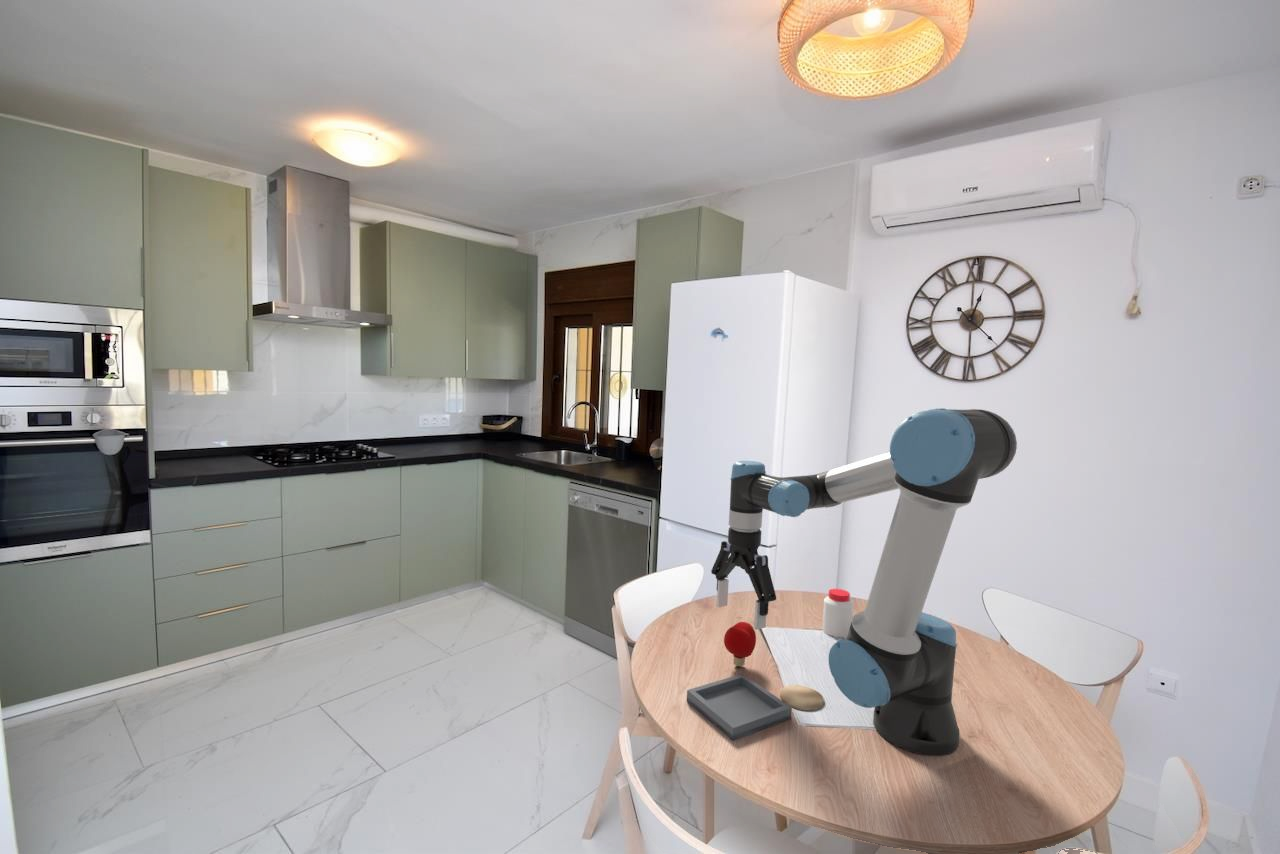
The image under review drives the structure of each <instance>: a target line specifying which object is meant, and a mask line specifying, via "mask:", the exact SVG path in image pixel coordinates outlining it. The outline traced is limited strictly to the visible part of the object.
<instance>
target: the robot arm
mask: <svg viewBox="0 0 1280 854" xmlns="http://www.w3.org/2000/svg"><path fill="white" fill-rule="evenodd" d="M1017 445H1018V441H1017V437H1016V433H1015V431H1014V429H1013V427H1012V426H1011V425H1010V423H1009V422H1008V421H1007V420H1005V419H1004V418H1003V417H1002V416H1000V415H998V414H997V413H996V412H992V411H989V410H985V409H976V408H975V409H974V408H973V409H951V408H950V409H948V408H945V407H943V408H942V407H941V408H934V409H933V408H932V409H928V410H921V411H919V412H916V413H913V414H911V415H910V416H908V417H906V418H905V419H904V420H903V421H901V423H900V424H899V425H898V426H897V428H896V429H895V430H894V433H893V435H892V437H891V440H890V443H889V451H887V452H883V453H880V454H877V455H874V456H871V457H867V458H864V459H861V460H859V461H855V462H851V463H849V464H845V465H842V466H840V467H836V468H833V469H830V470H826V471H822V472H820V473H816V474H808V475H798V476H786V477H785V476H784V477H782V476H781V477H779V476H774V475H770V474H767V472H766V466H765V464H764V463H762V462H760V461H754V460H737V461H735V462H734V463H733V465H732V467H731V468H732V469H731V474H730V497H729V513H728V514H729V516H728V526H729V527H728V533H727V535H728V536H727V540H725V541H724V540H722V541H721V542H720V543H721V544H720V550H719V552H718V555H717V557H716V558H715V561H714V564H713V566H712V568H711V575H714V576H715V578H716V593H717V595H716V607H717V608H722V607H727V606H728V601H729V600H728V598H729V596H728V595H729V593H728V592H729V579H728V578H729V575H730V573H731V572H732V571H733V570H734V569H735V567H739V568H741V569H742V570H744V572H745V574H747V575H748V577H749V579H750V582H751V584H752V587H753V589H754V592H755V594H756V597H757V599H756V600H755V604H754V605H755V609H754V624H753V625H754V626H753V629H754V630H760V629H764V628H766V625H767V616H768V614H769V604H770V602H773V601H776V600H777V595H776V592H775V587H774V583H773V580H772V579H773V578H772V575H771V571H770V568H769V557H768V555H765V554H764V555H760V554H759V552H758V549H759V547H760V546H761V544H762V530H761V528H762V525H763V511H764V510H765V511H769V512H771V513H775V514H777V515H780V516H783V517H791V518H796V517H799V516H801V515H802V514H803V513H805V512H806V510H807V511H808V510H811V509H812V510H813V509H822V508H826V509H827V508H833V507H836V506H839V505H841V504H843V503H846V502H850V501H854V500H858V499H862V498H867V497H870V496H875V495H879V494H883V493H887V492H891V491H894V490H899V492H900V493H899V497H898V500H897V503H896V506H895V510H894V513H893V516H892V520H891V523H890V526H889V529H888V533H887V535H886V539H885V542H884V546H883V550H882V553H881V555H880V558H879V563H878V565H877V569H876V572H875V575H874V579H873V582H872V585H871V589H870V592H869V596H868V598H867V602H866V605H865V609H864V610H862V611H859V612H857V613H856V614H853V619H852V622H851V625H850V628H849V632H848V635H847V637H846V638H842V639H838V640H837V641H836V642H835V643H833V644H832V646H831V647H830V649H829V652H828V666H829V672H830V673H831V674H830V675H831V676H832V678H833V680H834V681H833V682H834V683H835V685H836V686H837V687H838V689H839V691H840V692H841V694H843V696H844V697H846V698H847V699H848V700H849V701H850V702H852V703H853V704H855V705H857V706H858V707H862V708H868V709H872V708H874V709H873V719H872V721H873V723H872V724H873V726H874V728H875V730H876V731H877V732H878V734H879V735H880V736H881V737H882V738H883V739H885V740H886V741H888V742H890V743H891V744H892V745H895V746H897V747H899V748H901V749H903V750H905V751H908V752H912V753H914V754H920V755H923V756H933V757H938V756H939V757H940V756H946V755H950V754H952V753H954V752H956V751H957V749H958V748H959V746H960V729H959V726H958V721H957V718H956V714H955V710H954V706H953V703H952V698H953V686H954V685H953V684H954V677H955V676H954V673H955V663H956V653H957V652H956V649H957V648H958V644H957V631H956V628H955V627H954V626H953V625H952V624H951V623H950V622H948V621H946V620H945V619H943V618H941V617H938V616H936V615H932V614H929V613H927V612H923V611H924V610H923V609H924V607H925V604H926V600H927V597H928V595H929V591H930V589H931V586H932V583H933V581H934V577H935V574H936V571H937V568H938V565H939V562H940V559H941V557H942V553H943V550H944V547H945V545H946V542H947V540H948V535H949V532H950V529H951V526H952V524H953V522H954V518H955V515H956V512H957V510H959V508H962V507H964V506H968V505H969V504H970V503H971V502H972V499H973V495H974V493H975V491H976V487H977V485H978V482H979V480H982V479H987V478H990V477H994V476H996V475H998V474H1000V473H1002V472H1003V471H1005V470H1006V469H1007V468H1008V467H1009V466H1010V464H1011V463H1012V462H1013V461H1014V458H1015V456H1016V452H1017V448H1018V446H1017Z"/></svg>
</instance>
